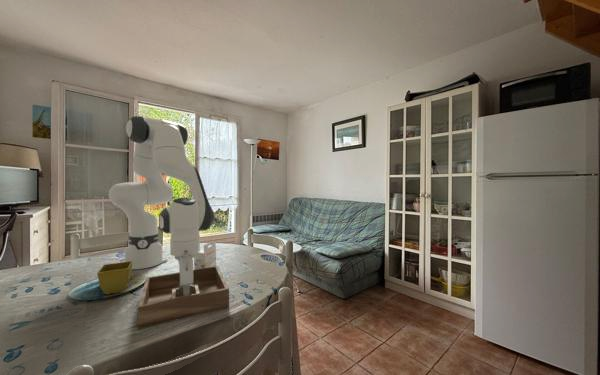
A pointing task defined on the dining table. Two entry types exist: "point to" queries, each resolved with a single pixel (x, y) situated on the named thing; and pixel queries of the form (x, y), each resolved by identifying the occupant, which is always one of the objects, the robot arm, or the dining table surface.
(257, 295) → the dining table surface
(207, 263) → the ink cartridge box
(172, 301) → the walled box
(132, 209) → the robot arm
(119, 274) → the flower pot
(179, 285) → the plain grey cube
